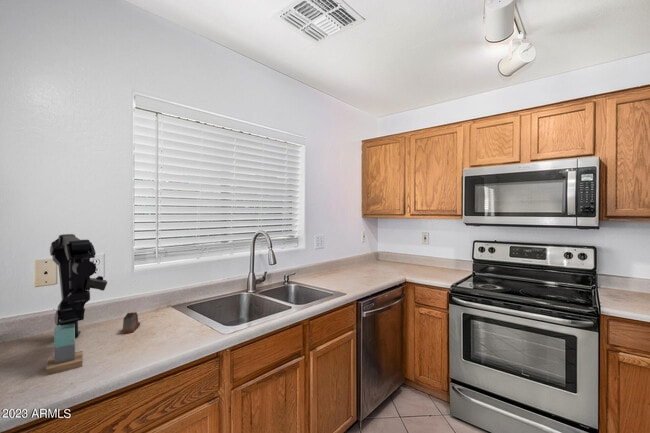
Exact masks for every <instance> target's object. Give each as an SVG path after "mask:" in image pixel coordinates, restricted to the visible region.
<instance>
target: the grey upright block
mask: <svg viewBox="0 0 650 433" xmlns="http://www.w3.org/2000/svg"><path fill="white" fill-rule="evenodd" d="M122 321H123V324H122V330H121V331H122V332H121V334H122V335H123V334H133V333H134V332H135V331H136V330H137V328H138V327H139V326H141V321H139V315H138V312H137V311H128V312H127V313H126V315H125V316H124V317H123V320H122Z"/></svg>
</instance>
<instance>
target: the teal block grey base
mask: <svg viewBox="0 0 650 433" xmlns="http://www.w3.org/2000/svg"><path fill="white" fill-rule="evenodd" d="M53 337H54V338H53V339H54V349H53V350H54V357H55V364H60V363H64V362H68V361H73V360H75V352H76V338H75V323H73V324H67V325H61V326H60V325H59V326H57V325H56V326H55V327H54V331H53Z"/></svg>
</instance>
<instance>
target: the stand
mask: <svg viewBox="0 0 650 433" xmlns="http://www.w3.org/2000/svg"><path fill="white" fill-rule="evenodd" d="M83 355H84V354H83V350H79V351H75V360H73V361H68V362H64V363H60V364H55V356H53V357H49V358H48V360H47V364H46V368H45V375H46V376H49V375H53V374H58V373H61V372H64V371H69V370H74V369H78V368H82V367H83V359H84V358H83Z"/></svg>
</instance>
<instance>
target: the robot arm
mask: <svg viewBox="0 0 650 433" xmlns="http://www.w3.org/2000/svg"><path fill="white" fill-rule="evenodd" d="M49 254H50V256H51V257H52V261H53V263H55V264H56V265H57V266H58V276H59V286H60V294H61V300H60V302H59V304H58V306H57V310H56V311H55V315H54V324H55V325H56V326H61V325H67V324H73V323H75V339H76V338H78V337H79V336H80V334H81V330H79V322H80V321H84V319H85V313H86V312H85V311H86V308H85V304H87V303H88V302H89V301H90V300H91V291H90V290H91V289H95V290H100V291H105V290H106V287H107V284H108V280H106V279H104V276H101V275H98V276H97V277H91V276H93V275H94V274H95V273H96V271H97V266H96V264H95V262H93V261H91V259H94V258H96V254H97V253H96V250H95V247H94V245H93V243H92V242H91V241H90V240H89V239H80V238H78V237H77V236H76V235H75V234H73V233H68V234H67V233H66V234H64V233H63V234H59V235H58V238H56V239H55V240H53V241H52V242H51V243H50V247H49Z"/></svg>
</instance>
